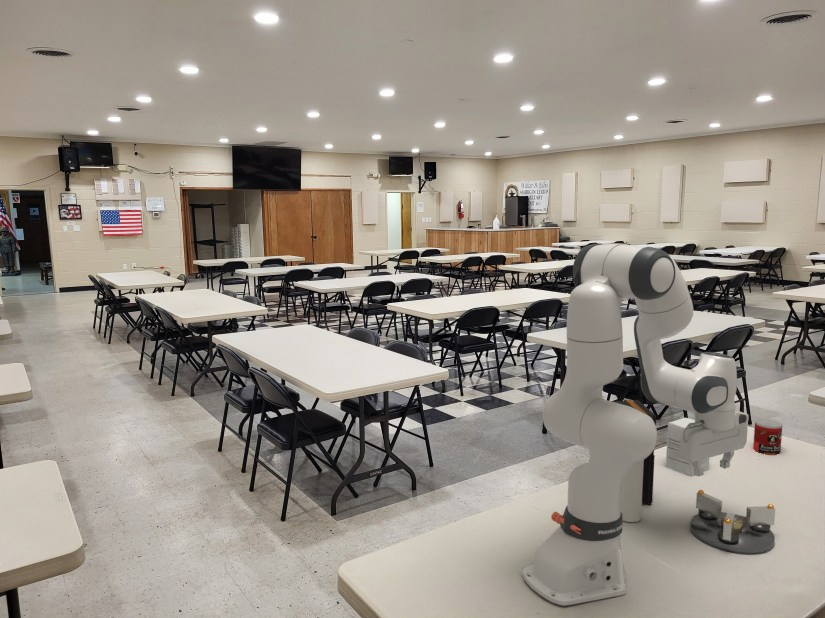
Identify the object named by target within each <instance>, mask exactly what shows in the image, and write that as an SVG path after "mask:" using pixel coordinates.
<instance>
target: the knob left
mask: <svg viewBox="0 0 825 618" xmlns="http://www.w3.org/2000/svg"><path fill="white" fill-rule="evenodd" d="M695 500H696V501H695V508H696V509H698V513H697V514H698V515H699V517H700V518H702V519H705V520H709V521H715V520H717V519H718V517H720V516H721V512H723V511H722V510H723V509H722V508H723V500H721V499H719V498H716V497H715V496H713V495H710V494H708V493H706V492H705V491H704V490H702V489H698V490H697V492H696V499H695Z"/></svg>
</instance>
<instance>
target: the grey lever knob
mask: <svg viewBox="0 0 825 618" xmlns="http://www.w3.org/2000/svg"><path fill="white" fill-rule="evenodd" d="M745 517H746V523H747V524H748V525H749V528H750V529H752V530H753V531H756V532H759V533H768V532H770V530H771V526H774V525H775V519H776V508H775V506H774V505H773V504H772V503H771V504H768V505H766V506H765V505H764V506H763V505H762V506H761V505H760V506H759V505H758V506H746V515H745Z"/></svg>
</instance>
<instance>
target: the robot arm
mask: <svg viewBox="0 0 825 618" xmlns="http://www.w3.org/2000/svg"><path fill="white" fill-rule="evenodd" d="M572 265H573V266H572V276H573V283H574V287H575V288H573V289H572V291H571V292H570V295H569V299H568V305H567V312H566V313H567V314H566V316H567V317H566V370H565V371H566V372H565V376H564V380H563V382H562V384H561V387H559V389H558V390H557V391H556V392H554V393H553V394H552V395H550V396H549V397H548V398H547V400H546V401H545V403H544V406H543V409H542V422H543V425H544V427H545V428H546V430H547V431H548V432H550V433H551V434H552V435H554V436H555V437H557V438H559V439H560V440H562V441H564V442H567V443H569V444H572V445H575V446H578V447H582V448H584V449H587V450H588V452H589V458H588V461H587V462H585V463H581V464H579V465H576V467H575V468H573V469H572V471H571V472H570V473H569V475H568V477H567V479H568V480H567V481H568V482H567V505H566V507H565V509H564V511H563V513H562V514H560V512H558V511H554V512H552V514H551V517H550V518H551V520H552V521H553V522H555V523H556V524H558V525H559V526H558V527H557V528H556V529H555V530H554V531H553V532H552V534H550V536H549V537H547V538H546V539H545V540H544V541H543V542H542V543H541V544H540V545H539V546H538V547H537V549H536V550H535V554H534V559H533V563H531V564H529V565H527V566H525V567H524V568H523V569H522V573H521V574H522V578H523V580H524V581H525V582H526V584H527V585H528V586H529V587H530V588H531V589H532V590H533V591H534V592H536V593H537V594H538V595H539V596H541V597H543V598H544V599H545V600H547V601H549V602H552V603H554V604H556V605H559V606H562V607H563V606H570V605H577V604H581V603H586V602H587V603H588V602H593V601H599V600H603V599H607V598H613V597H619V596H625V595H626V593H627V588H626V584H625V583H626V581H627V574H626V571H625V568H624V567H625V566H624V559H623V551H622V540H621V534H622V532H623V526H624V521H623V515H622V513H621V499H622V489H623V483H624V479H625V476H626V474H627V473H628V471H629V469H630V468H631V467H632V466H633V465H634V464H636V463H638V462H640V461H642V460H644V459H645V458H647V457H648V456H649V455H650V454H651V453H652V451H653V450H654V451H655V448H656V445H657V441H658V431H657V425H656V426H655V423H654V421H653V419H652V418H651V417H650V416H648V415H646V414H644V413H642V412H640V411H638V410H636V409H634V408H632V407H630V406H626V405H623V404H619V403H615V401H611V400H607V399H605V398H604V397H603V388H604V386H606V385H608V384H610V383H613V382H614V381H616V380H617V379H618V378H619V377H620V375H621V374H622V372H623V369H624V345H623V344H624V343H623V341H624V340H623V339H624V338H623V321H622V312H621V306H622V303H623V301H624V299H629V300H630V299H634V302H635V304H636V308H637V311H638V315H637V317H636V318H635V320H634V323H633V334H634V335H633V336H634V341H635V346H636V353H637V359H638V362H639V363H638V364H639V368H640V369H639V370H640V387H641V391H642V394H643V396H644V398H646V400H647V401H649V402H651V403H653V404H659V405H664V406H665V405H666V406H669V407H672V408H676V409H679V410H681V411H682V410H684V411H687V412H692V413H694V420H695V422H694V423H689V424H688V425H687V427H686V428H685V429H684V431H683V433H682V436H681V440H680V447H679V456H680V457H681V458H682V459H684V460H686V461H689V462H691V464H692V466H693V468H694V475H695V476H697V477H703V476H704V473H705V471H704V469H703V468H701V466H700V464H701V463H702V460H703V459H706V458H709V459H710V458H713V457H716V456H720V455H722V458H721V459H720V460H719V467H720V468H722V469H728V468H730V467H731V461H732V459H733V457H734V454H735V452H736V451H738V450H741V449H744V448H745V446H746V445H747V441H748V424H747V423H748V422H749V416H750V415H749V414H748V413H746V412H742V411H740V410H738V409H737V408H736V402H735V395H736V393H737V385H738V375H737V374H738V373H737V371H738V369H737V364H736V363H737V362H736V361H735V358H734V357H732V356H731V355H729V354H723V353H719V352H718V353H717V352H712V351H704V352H701V354H700V355H699V360H698V364H697V365H695V366H694V367H692V368H690V369H688V368H683V367H679V366H675V365H672V364H670V363H668V362H667V361H666V360H665V359H664V353H663V348H662V340H665V339H668V338H671V337H674V336H676V335H678V334H679V333H681V332H682V331H684V330H685V329H687V327H688V326H689V324H690V323H691V321H692V319H693V316H694V305H693V300H692V297H691V294H690V292H689V291H690V290H689V288H688V286H687V283H686V281H685V278H684V275H683V273H682V272H681V270H680V268H679V266H678V265H677V263H676V262H675V260H674V258H673V257H672V256H671V255H670V254H668V252H666V251H664V250H662V249H660V248H656V247H653V246H639V245H632V244H627V243H600V242H598V243H593V244H588V245H586V246H583V247H582V248H581V249H580V250H579V251H578V253H577V254H576V256H575V259H574V261H573V264H572ZM736 409H737V410H736ZM688 427H689V428H688Z"/></svg>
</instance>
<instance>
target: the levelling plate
mask: <svg viewBox="0 0 825 618" xmlns="http://www.w3.org/2000/svg"><path fill="white" fill-rule="evenodd" d="M734 514H735V522H734V531H733V532H735V533H737V534H738V535H739V542H738V543H737V544H728V543H724V542H722V541H720V540H719V539H718V531H719V530H723V528H724V521H725V518H726V515H727V512H726V511H721V516H720V517H718V519H717V520H715V521H709V520H705V519H702V518H700V517H699V515H698V513H697V514H696V515H693V516H692V517H691V519H690V521H689V522H690V524H689V526H690V528H689V530H690V531H691V532H690V533H691V534H692V535H693V536H694V537H695V538H696V539H698V540H699V541H700V542H702V543H703V544H705V545H708V546H710V547H713V548H714V549H717V550H719V551H724V552H728V553H731V554H732V553H733V554H740V555H761V554H766V553H768V552H771V550H772V549H773V548H774V547H775V534H774V533H773V531H771V529H770V532H768V533H759V532H756V531H753V530H752V529H750V528H749V525H748V524H747V523H746V516H745V515H740V514H736V513H734Z"/></svg>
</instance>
